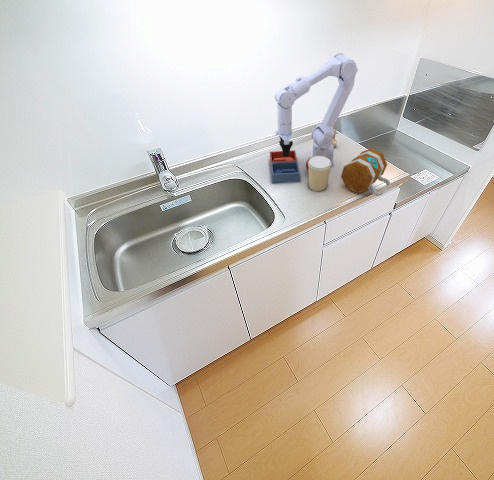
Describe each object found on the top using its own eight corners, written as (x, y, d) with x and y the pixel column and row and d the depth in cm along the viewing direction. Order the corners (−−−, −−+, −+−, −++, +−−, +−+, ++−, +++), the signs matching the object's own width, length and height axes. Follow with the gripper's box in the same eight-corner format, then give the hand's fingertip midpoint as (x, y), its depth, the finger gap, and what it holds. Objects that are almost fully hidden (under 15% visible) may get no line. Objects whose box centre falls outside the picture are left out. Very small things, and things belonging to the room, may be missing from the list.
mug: (353, 155, 106) (371, 141, 114) (335, 176, 118) (352, 161, 126) (388, 192, 106) (404, 175, 114) (366, 209, 117) (382, 192, 125)
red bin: (270, 160, 134) (269, 151, 131) (295, 158, 135) (295, 150, 131) (271, 170, 128) (270, 162, 125) (297, 169, 129) (297, 160, 125)
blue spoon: (294, 172, 126) (294, 166, 124) (295, 177, 123) (295, 172, 121) (274, 173, 126) (274, 168, 124) (274, 178, 123) (274, 173, 121)
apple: (317, 179, 123) (318, 164, 117) (302, 174, 126) (302, 158, 120) (325, 170, 128) (327, 155, 122) (310, 165, 131) (311, 150, 125)
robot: (337, 141, 145) (341, 113, 134) (336, 149, 140) (340, 120, 129) (317, 139, 147) (320, 111, 136) (315, 147, 141) (318, 118, 130)
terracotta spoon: (274, 166, 129) (274, 161, 127) (273, 161, 132) (273, 156, 130) (293, 165, 130) (293, 160, 128) (292, 160, 133) (292, 155, 131)
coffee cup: (331, 182, 122) (334, 158, 113) (323, 194, 116) (326, 170, 107) (311, 177, 124) (313, 153, 115) (303, 188, 119) (304, 164, 110)
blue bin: (271, 171, 128) (270, 162, 124) (297, 169, 128) (297, 161, 125) (272, 183, 122) (272, 174, 118) (299, 181, 122) (300, 172, 119)
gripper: (273, 113, 116) (274, 143, 126) (276, 130, 106) (277, 161, 116) (290, 113, 116) (290, 142, 127) (294, 129, 107) (294, 159, 117)
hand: (285, 151), depth 122 cm, fingers open, 7 cm apart
